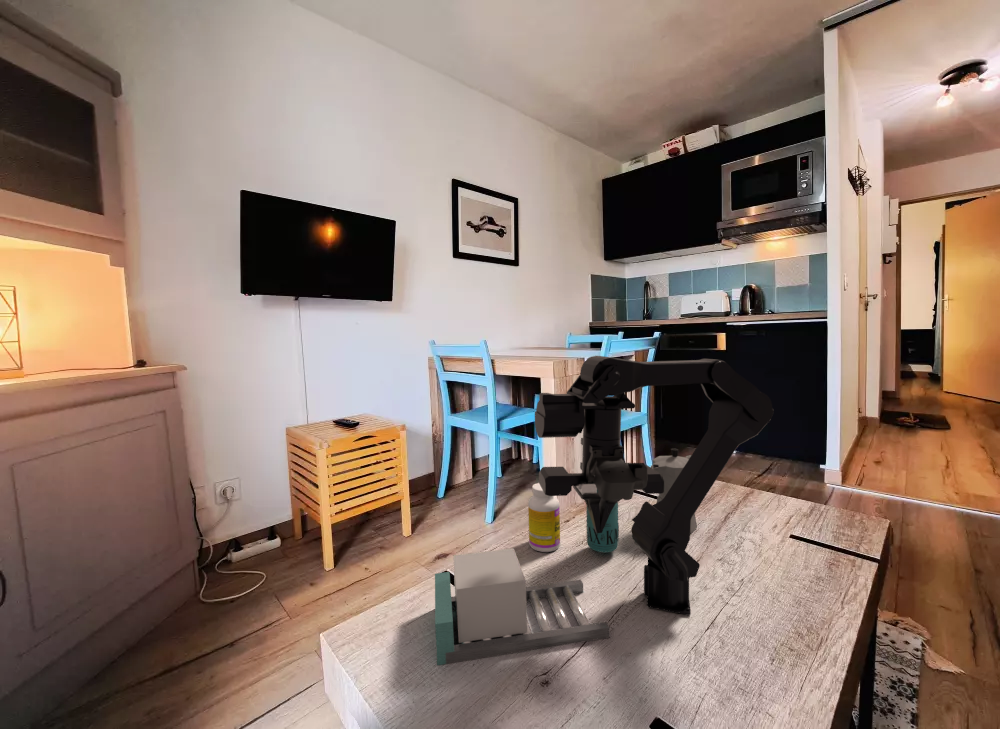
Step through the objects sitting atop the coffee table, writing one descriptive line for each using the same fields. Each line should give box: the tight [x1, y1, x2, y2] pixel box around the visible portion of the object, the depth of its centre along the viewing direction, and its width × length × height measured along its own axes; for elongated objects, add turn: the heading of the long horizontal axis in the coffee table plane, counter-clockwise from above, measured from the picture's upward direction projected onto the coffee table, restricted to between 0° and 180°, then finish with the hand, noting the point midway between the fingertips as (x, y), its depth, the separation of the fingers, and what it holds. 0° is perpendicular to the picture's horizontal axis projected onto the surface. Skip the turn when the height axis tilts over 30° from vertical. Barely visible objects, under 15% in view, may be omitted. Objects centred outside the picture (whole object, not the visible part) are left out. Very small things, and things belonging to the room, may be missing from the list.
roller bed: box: [434, 571, 611, 666], centre depth 64 cm, size 12×25×6 cm, turn 99°
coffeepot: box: [650, 448, 698, 534], centre depth 93 cm, size 15×9×18 cm, turn 112°
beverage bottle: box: [585, 490, 620, 553], centre depth 83 cm, size 6×7×20 cm
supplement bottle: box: [527, 482, 561, 553], centre depth 86 cm, size 7×7×13 cm
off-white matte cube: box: [453, 547, 528, 644], centre depth 63 cm, size 10×9×8 cm
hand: (598, 532), depth 65 cm, fingers closed
